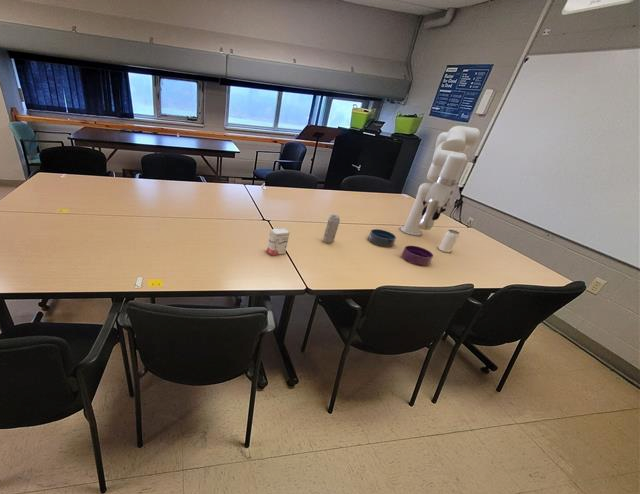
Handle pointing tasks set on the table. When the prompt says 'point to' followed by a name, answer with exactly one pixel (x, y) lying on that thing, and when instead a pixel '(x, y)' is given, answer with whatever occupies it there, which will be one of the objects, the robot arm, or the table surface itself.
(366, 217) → the table surface
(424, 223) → the silver metal bottle
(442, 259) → the table surface
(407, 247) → the plum bowl
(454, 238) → the can
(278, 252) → the ink box
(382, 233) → the blue bowl
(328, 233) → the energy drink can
